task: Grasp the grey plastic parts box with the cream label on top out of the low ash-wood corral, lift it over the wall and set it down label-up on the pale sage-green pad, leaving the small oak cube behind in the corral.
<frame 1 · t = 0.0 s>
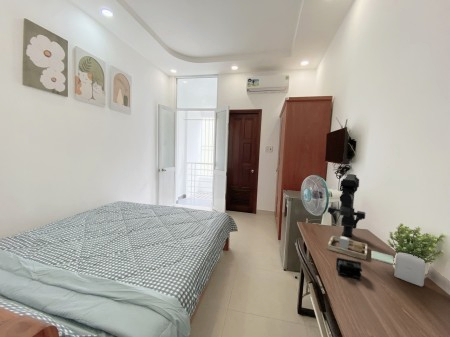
hand: (344, 226, 121), 15 cm above the table, fingers open, 9 cm apart
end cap: (348, 274, 99), on the table
oak cube: (357, 250, 124), resting in corral
pad: (382, 257, 115), on the table
photo printer: (407, 280, 95), on the table
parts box: (343, 247, 126), resting in corral
corral: (347, 248, 125), on the table
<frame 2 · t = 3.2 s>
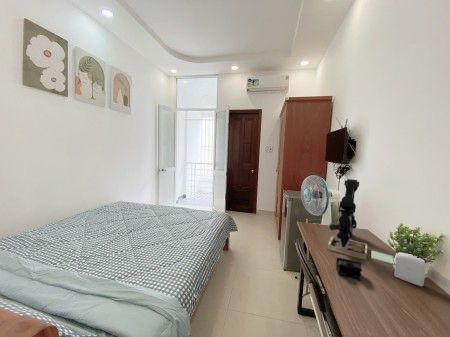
hand: (343, 245, 126), 1 cm above the table, fingers closed on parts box, 4 cm apart
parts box: (343, 247, 126), resting in corral, touching gripper
everything else where it was.
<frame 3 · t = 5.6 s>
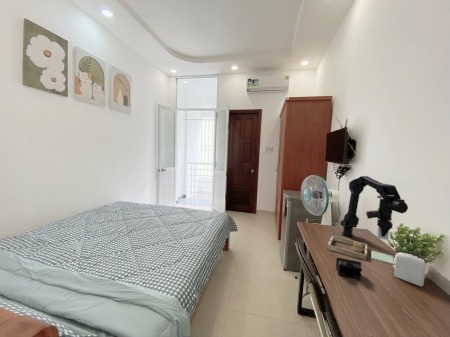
hand: (382, 235, 114), 13 cm above the table, fingers closed on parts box, 4 cm apart
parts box: (382, 237, 114), point 12 cm above the table, touching gripper
everything else where it was.
when the fingers open (3 cm above the table, at t = 8.3 s): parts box drops 1 cm, resting on pad.
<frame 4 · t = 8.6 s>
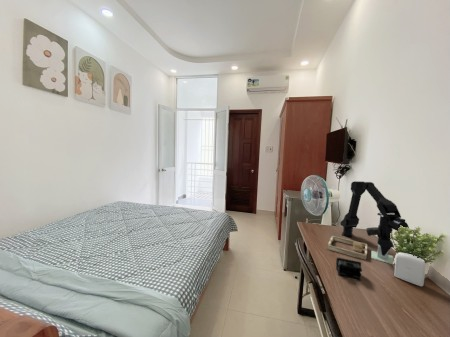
hand: (382, 252, 115), 3 cm above the table, fingers open, 8 cm apart
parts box: (382, 256, 115), point 1 cm above the table, touching pad
everything else where it was.
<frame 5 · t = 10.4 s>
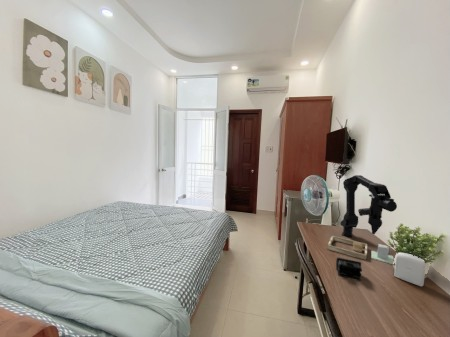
hand: (373, 231, 122), 12 cm above the table, fingers open, 9 cm apart
nothing on the table moved.
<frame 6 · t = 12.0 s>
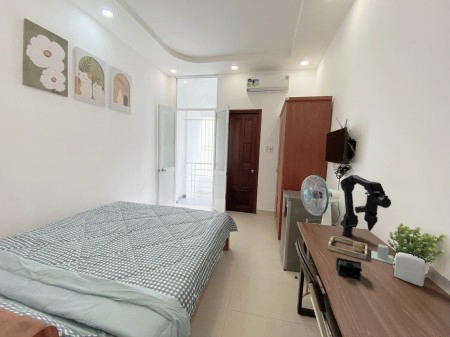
hand: (369, 228, 124), 13 cm above the table, fingers open, 9 cm apart
nothing on the table moved.
at the end: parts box inside the target area on the pad (0.0 cm from its centre), point 0.6 cm above the pad's base; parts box tilted 0°; the gripper is holding nothing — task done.
